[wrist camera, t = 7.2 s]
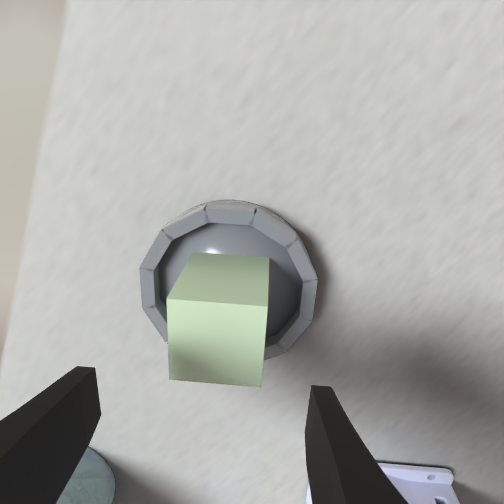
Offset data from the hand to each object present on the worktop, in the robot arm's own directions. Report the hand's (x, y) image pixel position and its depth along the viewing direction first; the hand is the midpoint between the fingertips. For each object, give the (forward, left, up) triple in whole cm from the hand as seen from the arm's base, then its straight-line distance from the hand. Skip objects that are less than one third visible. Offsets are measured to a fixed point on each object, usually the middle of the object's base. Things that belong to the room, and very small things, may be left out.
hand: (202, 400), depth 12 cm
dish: (0, 0, -9) cm, 9 cm away
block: (0, 0, -8) cm, 8 cm away
